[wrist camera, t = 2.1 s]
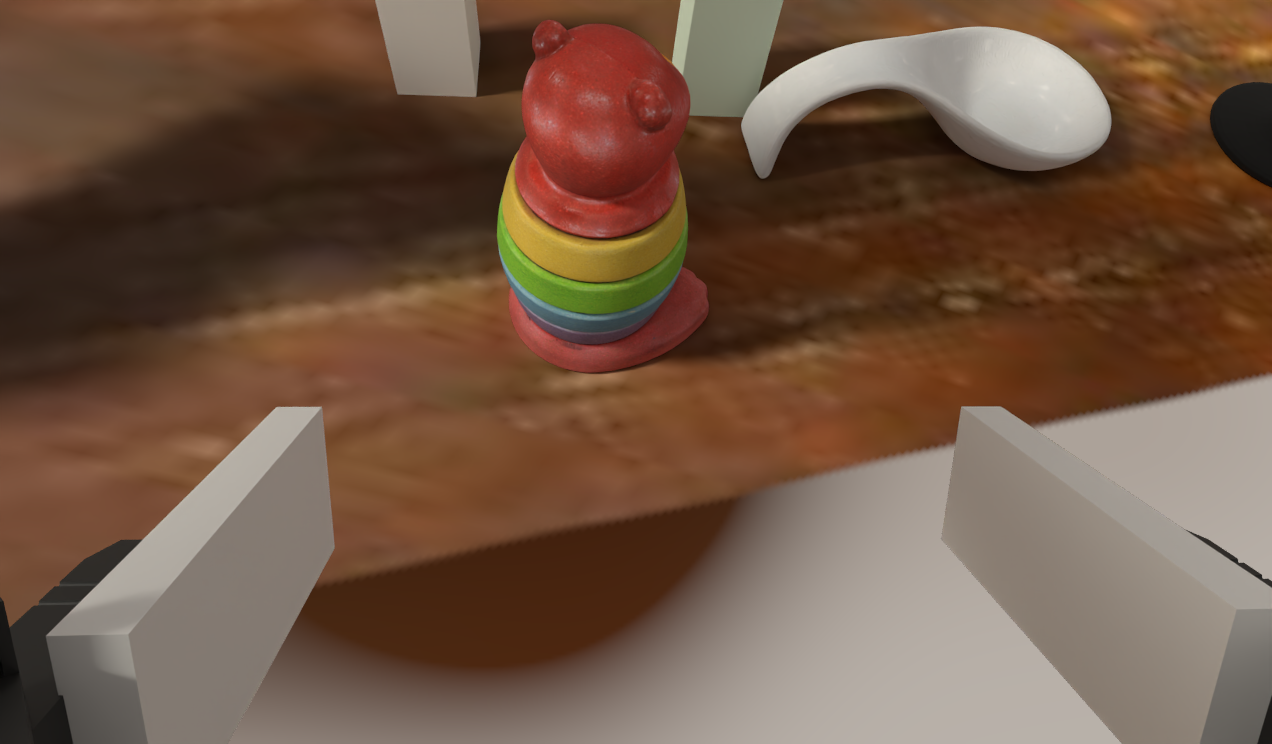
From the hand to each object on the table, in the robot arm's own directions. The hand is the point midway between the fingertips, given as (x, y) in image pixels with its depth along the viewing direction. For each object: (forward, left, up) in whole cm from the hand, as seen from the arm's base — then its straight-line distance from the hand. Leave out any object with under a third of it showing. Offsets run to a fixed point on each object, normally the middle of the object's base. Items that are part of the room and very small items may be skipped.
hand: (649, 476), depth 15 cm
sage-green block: (+8, +37, -25) cm, 46 cm away
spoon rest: (+22, +33, -26) cm, 47 cm away
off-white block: (-10, +38, -25) cm, 47 cm away
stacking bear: (0, +20, -26) cm, 33 cm away
